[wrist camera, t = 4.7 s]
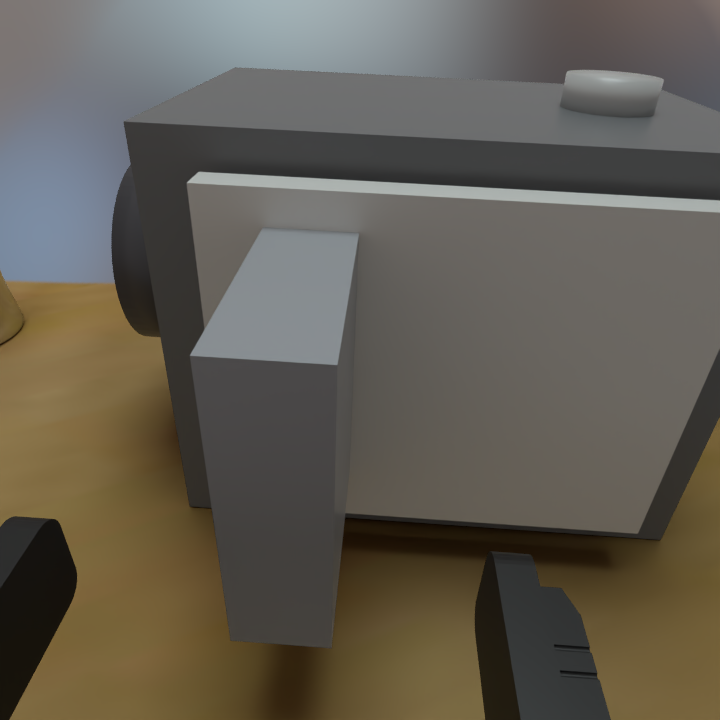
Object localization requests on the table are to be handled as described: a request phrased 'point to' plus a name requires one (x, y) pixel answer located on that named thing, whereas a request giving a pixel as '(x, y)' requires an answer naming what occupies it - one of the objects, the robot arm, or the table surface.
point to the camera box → (398, 165)
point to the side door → (434, 366)
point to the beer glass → (8, 313)
